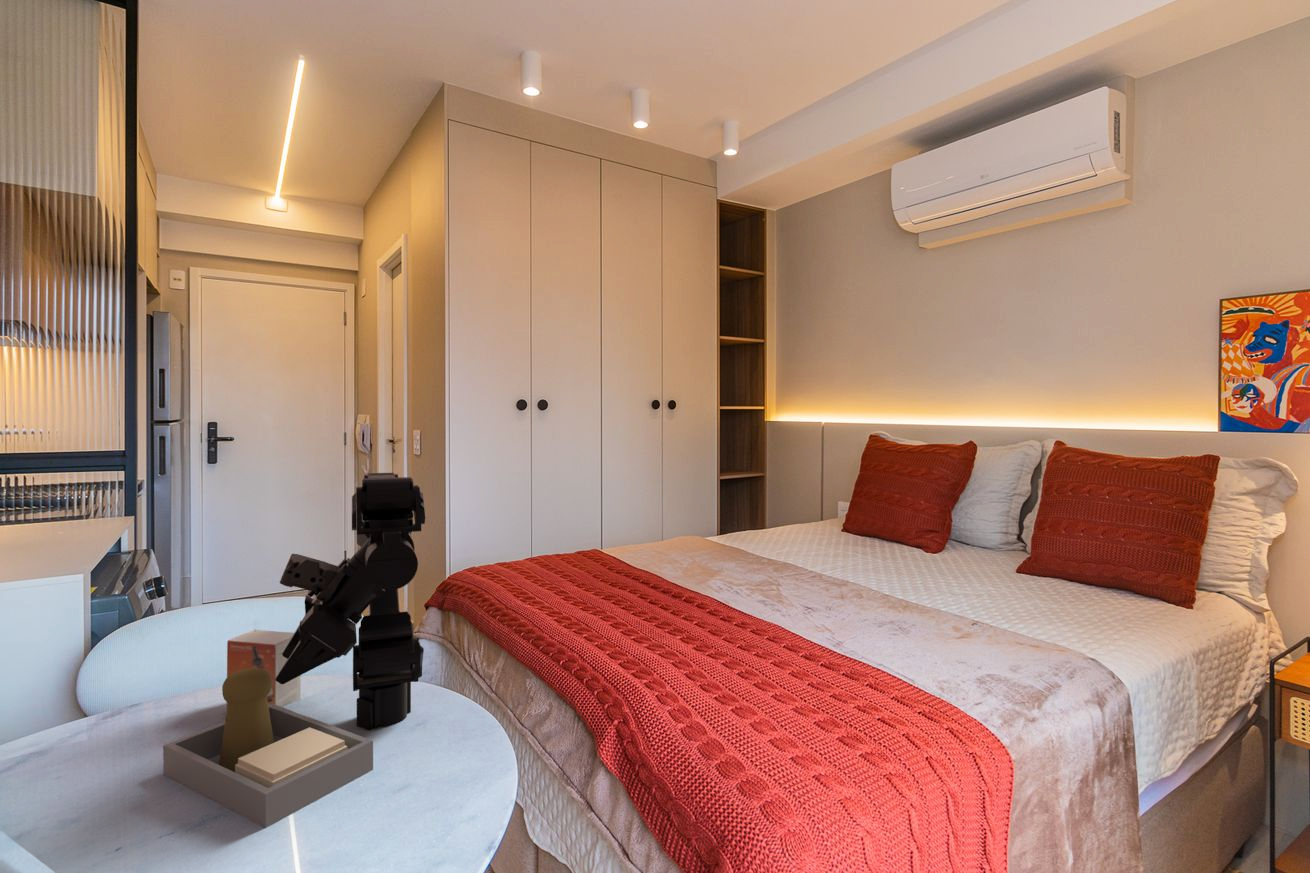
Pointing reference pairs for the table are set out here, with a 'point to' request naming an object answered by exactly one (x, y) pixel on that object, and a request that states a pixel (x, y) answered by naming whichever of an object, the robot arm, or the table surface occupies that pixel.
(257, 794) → the tray
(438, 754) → the table surface
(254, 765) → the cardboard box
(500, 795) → the table surface
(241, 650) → the small box
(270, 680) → the cork
